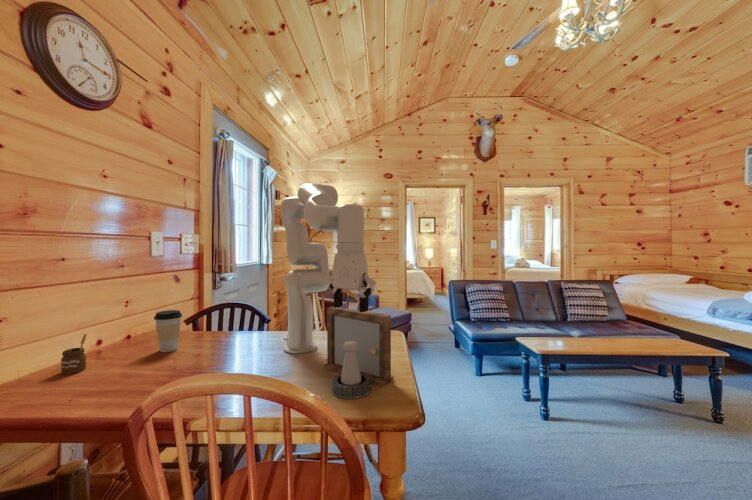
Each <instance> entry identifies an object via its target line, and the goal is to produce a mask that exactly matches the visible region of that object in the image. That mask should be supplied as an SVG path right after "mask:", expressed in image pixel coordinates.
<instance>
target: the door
mask: <svg viewBox="0 0 752 500" xmlns="http://www.w3.org/2000/svg"><path fill="white" fill-rule="evenodd" d="M334 329H335V363H336V364H339V365H342V366H343V363H344V357H345V351H344V349H343V345H344V343H345V342H347V341H355V342H357V343H358V346H359V348H358V350H357V351H356V353H357V359H358V364H359V369H360V371H361V372H365V373H368V374H371V375H374V376H377V377H380V360H379V323H377V322H371V321H366V320H360V319H355V318H349V317H344V316H338V315H335V316H334Z"/></svg>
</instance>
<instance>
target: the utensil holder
mask: <svg viewBox="0 0 752 500" xmlns="http://www.w3.org/2000/svg"><path fill="white" fill-rule="evenodd" d="M86 338H87V333H84V334H83V335H82V338H81V341H80V347H73V346H74V345H73V340H72V339H70V340H68V337H66V338H64V342H63V343H61V344H62V347H63V349H64V350H63V351H62V357H61V359H60V372H61V375H72V374H77V373H80V372H82V371H85V370H86V368H87V355H86V353H85V348H84V347H83V345H84V344H85V341H86ZM67 340H68V342H67ZM70 341H71V342H70ZM66 342H67V343H66ZM67 344H68V345H69V348H65V346H68V345H67ZM64 345H65V346H64Z"/></svg>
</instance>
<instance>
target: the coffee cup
mask: <svg viewBox="0 0 752 500" xmlns="http://www.w3.org/2000/svg"><path fill="white" fill-rule="evenodd" d="M182 317H183V313H182V312H181V310H178V309H173V310H172V309H169V310H168V309H167V310H161V311H157V312H156V314H155V315H154V316H153V320H155V330H156V338H157V340H158V341H157V342H158V348H159V349H158V350H159V352H160V353H170V352H175V351H176V350H178V348H179V339H180V336H181V333H180V332H181V325H182V323H181V321H182Z"/></svg>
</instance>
